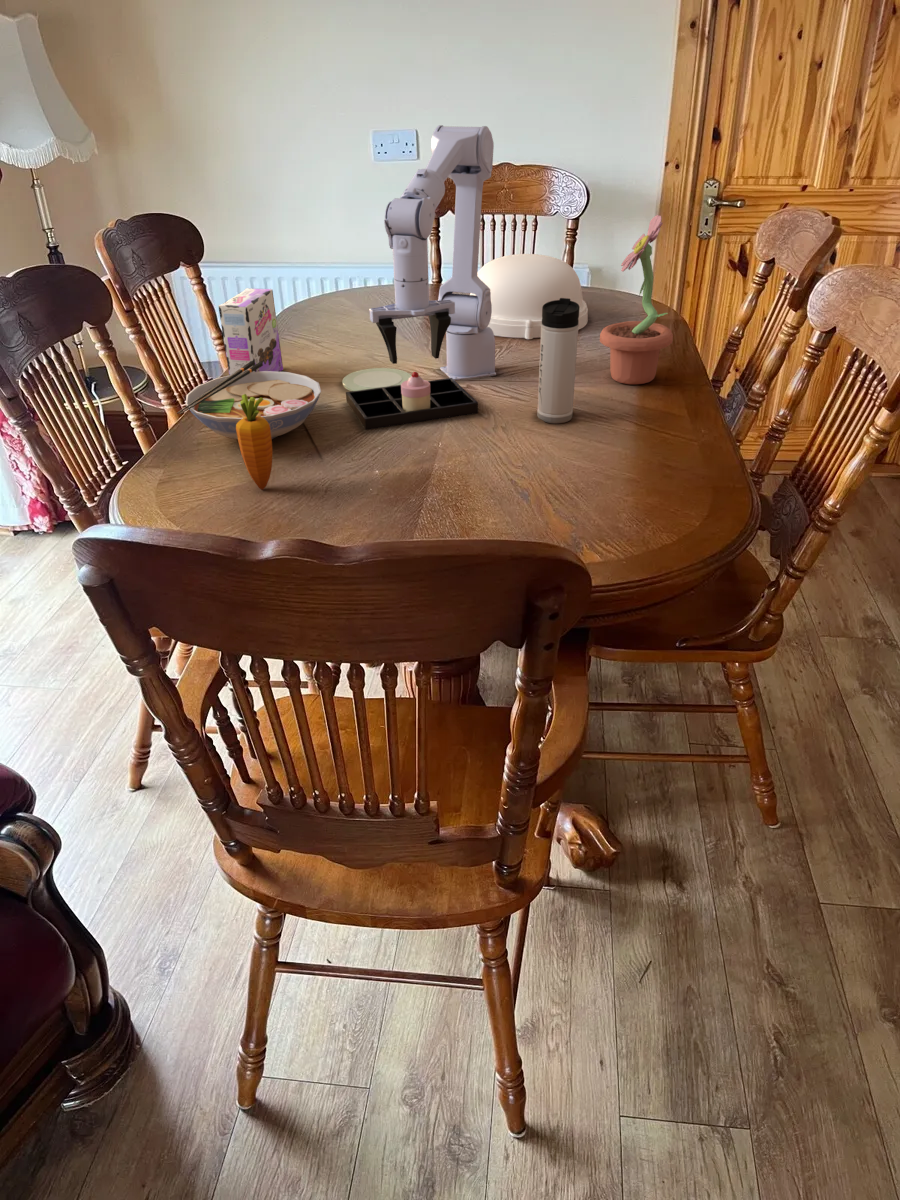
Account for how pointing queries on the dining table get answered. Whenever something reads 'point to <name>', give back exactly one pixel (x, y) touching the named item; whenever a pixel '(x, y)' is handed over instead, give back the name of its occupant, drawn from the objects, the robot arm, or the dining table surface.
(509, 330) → the dome cover
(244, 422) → the carrot
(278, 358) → the candy box
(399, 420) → the black compartment tray
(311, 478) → the dining table surface
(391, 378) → the plate
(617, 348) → the decorative flower
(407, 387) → the cupcake
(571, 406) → the travel mug
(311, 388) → the ramen bowl
